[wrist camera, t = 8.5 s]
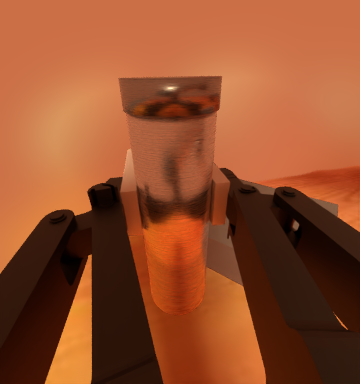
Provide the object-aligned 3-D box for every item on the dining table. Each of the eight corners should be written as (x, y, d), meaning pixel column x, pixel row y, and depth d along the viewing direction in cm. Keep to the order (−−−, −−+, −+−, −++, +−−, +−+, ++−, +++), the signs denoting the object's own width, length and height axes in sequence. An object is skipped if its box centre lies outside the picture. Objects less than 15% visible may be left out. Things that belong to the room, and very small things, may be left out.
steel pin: (172, 258, 18) (163, 76, 11) (215, 282, 16) (238, 75, 9) (138, 294, 15) (96, 78, 8) (185, 330, 13) (183, 77, 6)
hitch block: (227, 199, 48) (230, 176, 45) (326, 231, 38) (338, 204, 35) (177, 251, 34) (177, 223, 31) (313, 323, 24) (331, 292, 21)
